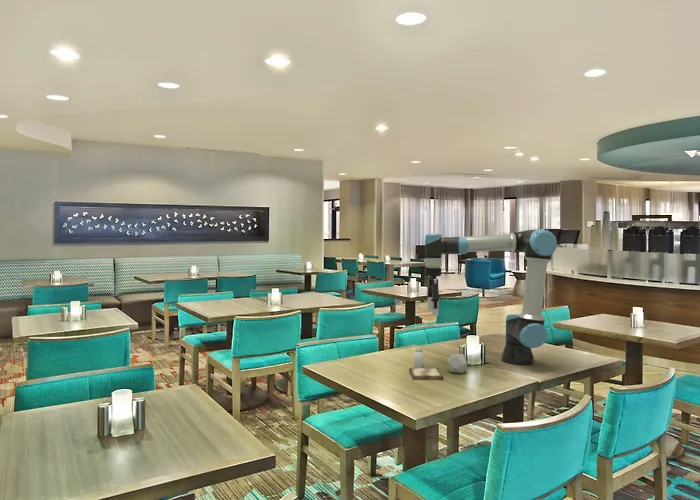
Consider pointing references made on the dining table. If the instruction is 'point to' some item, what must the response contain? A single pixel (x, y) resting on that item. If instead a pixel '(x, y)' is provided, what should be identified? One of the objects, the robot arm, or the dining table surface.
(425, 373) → the board
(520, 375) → the dining table surface
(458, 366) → the die
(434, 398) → the dining table surface
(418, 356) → the shaker
